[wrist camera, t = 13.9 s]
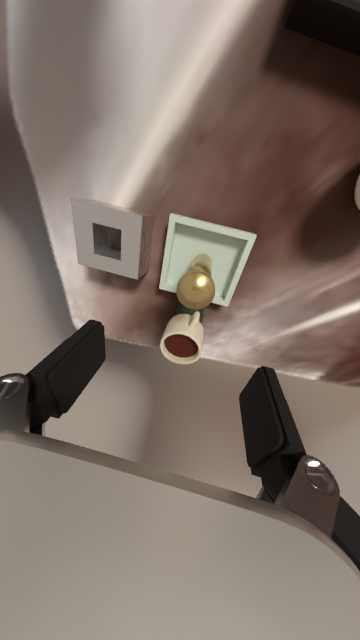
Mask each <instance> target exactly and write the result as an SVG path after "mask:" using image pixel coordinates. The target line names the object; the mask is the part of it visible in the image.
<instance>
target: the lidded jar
mask: <svg viewBox="0 0 360 640" xmlns="http://www.w3.org/2000/svg"><path fill="white" fill-rule="evenodd" d="M354 197H355V203H356V205H357V207H358V209H359V210H360V175H359V177H358V180H357V182H356V187H355V195H354Z"/></svg>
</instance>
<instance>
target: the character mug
mask: <svg viewBox="0 0 360 640" xmlns="http://www.w3.org/2000/svg"><path fill="white" fill-rule="evenodd" d="M202 319H203V310H202V309H197V310H195V309H190V308H187V307H185V306H184V305H183V304H182V303H180V304H179V305H178V306H177V308H176V311H175V316H173V317H172V319H171V320H170V321H169V322H168V324H167V327H166V329H165V331H164V334H163V336H162V339H161V342H160V350H161V353H162V354H163V355H164V357H165V358H166V359H168V360H169V361H171V362H173V363H176V364H184V365H187V364H191V363H194V362H195V361H197V360H198V359H199V358H200V356H201V352H202V345H203V335H204V329H203V327H202V325H201V322H202Z"/></svg>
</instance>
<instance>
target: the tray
mask: <svg viewBox="0 0 360 640" xmlns="http://www.w3.org/2000/svg"><path fill="white" fill-rule="evenodd" d="M256 236H257V235H256V234H254V233H250V232H246V231H242V230H238V229H234V228H230V227H226V226H222V225H218V224H214V223H210V222H206V221H202V220H198V219H194V218H190V217H186V216H182V215H178V214H174V213H172V214H170V218H169V225H168V231H167V238H166V245H165V252H164V258H163V265H162V272H161V279H160V285H159V289H162V290H166V291H170V292H174V293H176V288H177V285H178V282H179V281H180V279H181V277H182V276H183V275H184V274H185V273H187V272H188V270H189V268H190V266H191V264H192V261H193V259H194V257H195V256H196V255H198V254H201V253H204V254H207V255H209V256H210V258H211V260H212V274H211V278H212V279H213V281H214V284H215V296H214V299H213V301H212V302H211V303H215V304H219V305H223V306H227V307H228V305H229V302H230V300H231V298H232V295H233V293H234V290H235V288H236V285H237V283H238V280H239V278H240V275H241V273H242V271H243V268H244V266H245V263H246V261H247V258H248V256H249V253H250V251H251V248H252V246H253V244H254V241H255V239H256Z"/></svg>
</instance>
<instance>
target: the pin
mask: <svg viewBox="0 0 360 640" xmlns="http://www.w3.org/2000/svg"><path fill="white" fill-rule="evenodd" d="M211 274H212V260H211V258H210V256H209V255H207V254H204V253H201V254H198V255H196V256H195V257H194V259H193V261H192V264H191V266H190V268H189V270H188V272H187V273H185V274H184V275H183V276H182V277H181V279H180V281H179V282H178V285H177V288H176V294H177V297H178V299H179V301H180V302H181V303H182V304H183V305H184V306H185V307H187V308H190V309H195V310H197V309H203V308H205V307H207V306H208V305H209V304H210V303H211V302H212V301H213V299H214V296H215V284H214V281H213V279H212V278H211Z"/></svg>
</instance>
